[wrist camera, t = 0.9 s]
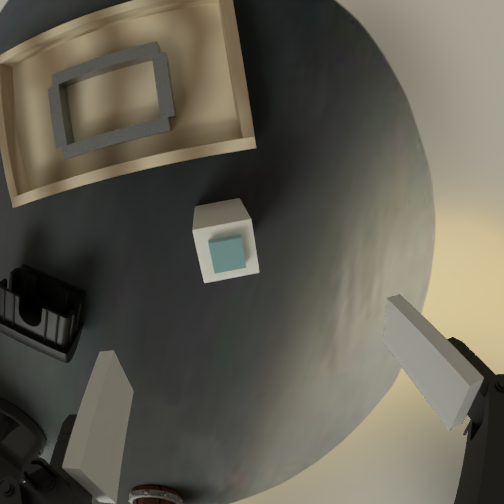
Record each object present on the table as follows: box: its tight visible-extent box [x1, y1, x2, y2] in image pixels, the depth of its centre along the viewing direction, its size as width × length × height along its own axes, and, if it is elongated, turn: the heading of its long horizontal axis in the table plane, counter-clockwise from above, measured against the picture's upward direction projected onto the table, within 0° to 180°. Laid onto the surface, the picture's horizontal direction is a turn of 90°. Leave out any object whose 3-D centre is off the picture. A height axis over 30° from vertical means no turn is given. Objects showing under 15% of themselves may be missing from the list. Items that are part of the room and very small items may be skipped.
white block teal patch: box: [192, 198, 259, 283], centre depth 27 cm, size 4×4×9 cm
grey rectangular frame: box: [48, 41, 177, 159], centre depth 24 cm, size 11×8×2 cm
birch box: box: [0, 0, 256, 208], centre depth 24 cm, size 24×16×4 cm, turn 98°
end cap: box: [0, 264, 86, 363], centre depth 28 cm, size 10×7×7 cm
